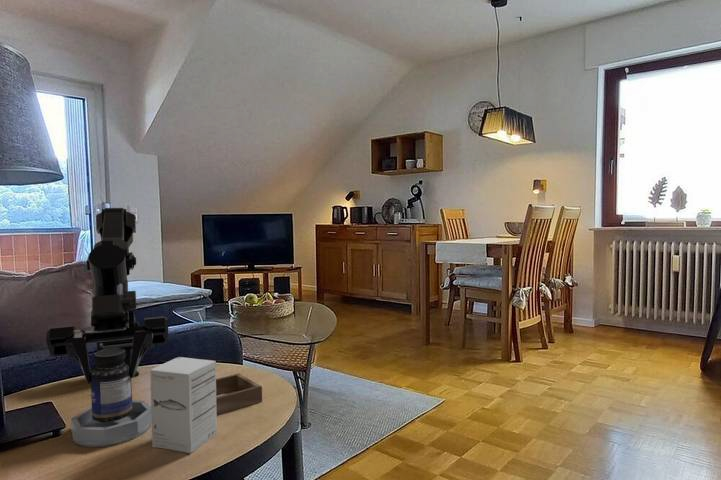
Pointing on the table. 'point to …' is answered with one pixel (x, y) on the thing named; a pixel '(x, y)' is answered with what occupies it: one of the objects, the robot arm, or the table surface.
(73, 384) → the table surface
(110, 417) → the pill bottle
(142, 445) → the table surface
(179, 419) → the supplement box
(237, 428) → the table surface
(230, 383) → the holder
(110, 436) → the tray
